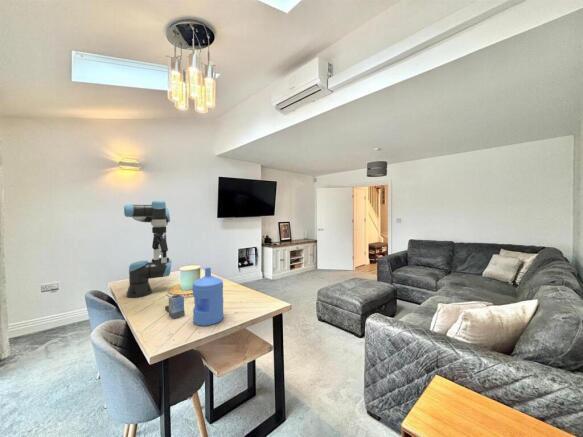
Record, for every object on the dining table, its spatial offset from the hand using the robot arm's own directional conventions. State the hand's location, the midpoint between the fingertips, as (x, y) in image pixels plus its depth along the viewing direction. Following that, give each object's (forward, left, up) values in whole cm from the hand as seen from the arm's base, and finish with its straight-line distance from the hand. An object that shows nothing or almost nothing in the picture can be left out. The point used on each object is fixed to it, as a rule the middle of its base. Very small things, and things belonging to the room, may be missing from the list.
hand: (160, 261), depth 148 cm
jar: (+8, +22, -29) cm, 37 cm away
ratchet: (+14, +2, -29) cm, 32 cm away
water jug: (+37, +12, -29) cm, 48 cm away
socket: (+19, +2, -26) cm, 32 cm away
